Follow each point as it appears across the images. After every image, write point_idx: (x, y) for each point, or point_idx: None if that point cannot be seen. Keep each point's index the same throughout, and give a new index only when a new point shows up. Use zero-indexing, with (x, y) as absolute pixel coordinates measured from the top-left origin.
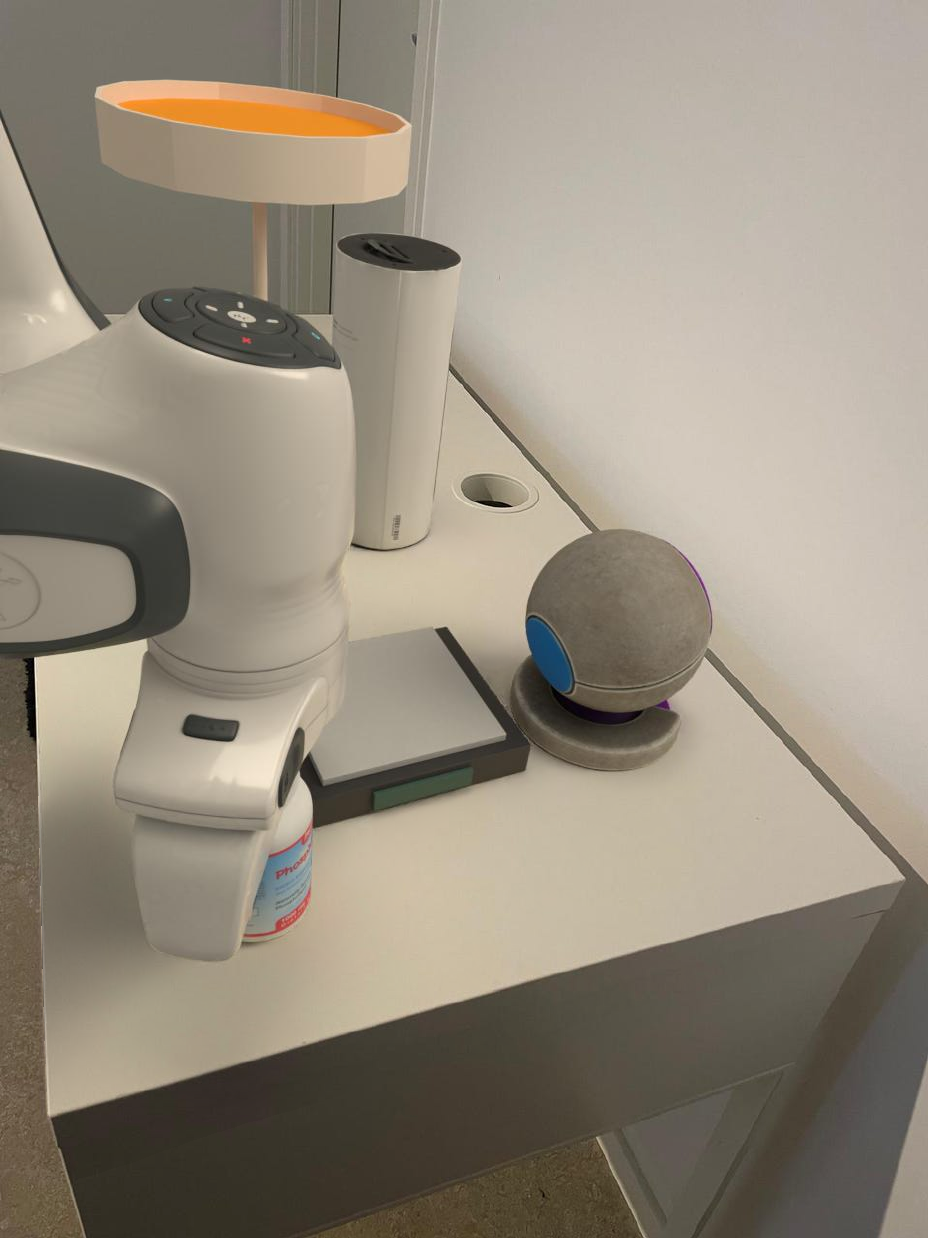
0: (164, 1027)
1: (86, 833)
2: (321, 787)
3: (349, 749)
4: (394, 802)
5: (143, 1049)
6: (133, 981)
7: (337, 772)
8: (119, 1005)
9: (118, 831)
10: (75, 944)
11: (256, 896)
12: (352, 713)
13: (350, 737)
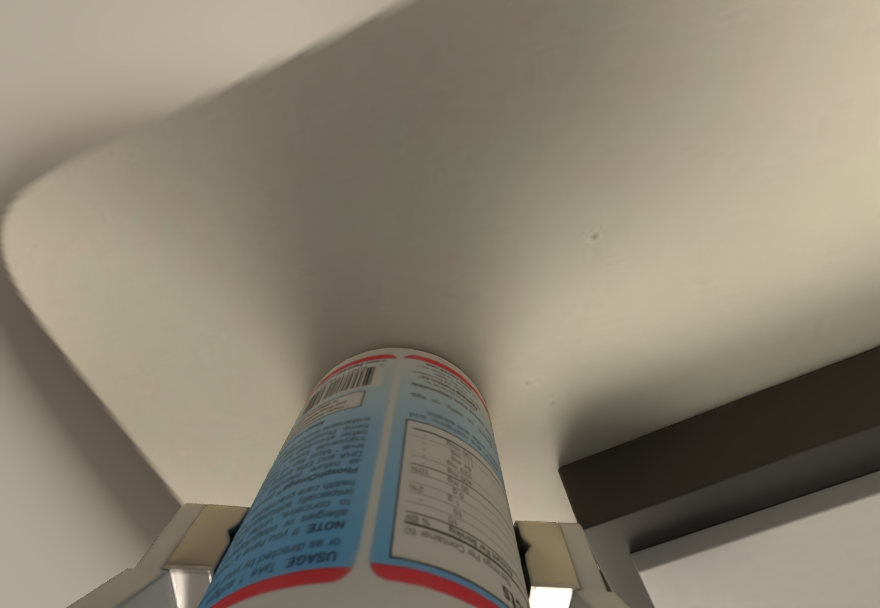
0: (142, 338)
1: (540, 39)
2: (627, 551)
3: (729, 604)
4: None
5: (97, 317)
6: (203, 266)
7: (659, 593)
8: (154, 257)
9: (548, 120)
10: (247, 129)
11: None
12: (848, 600)
13: (767, 602)
